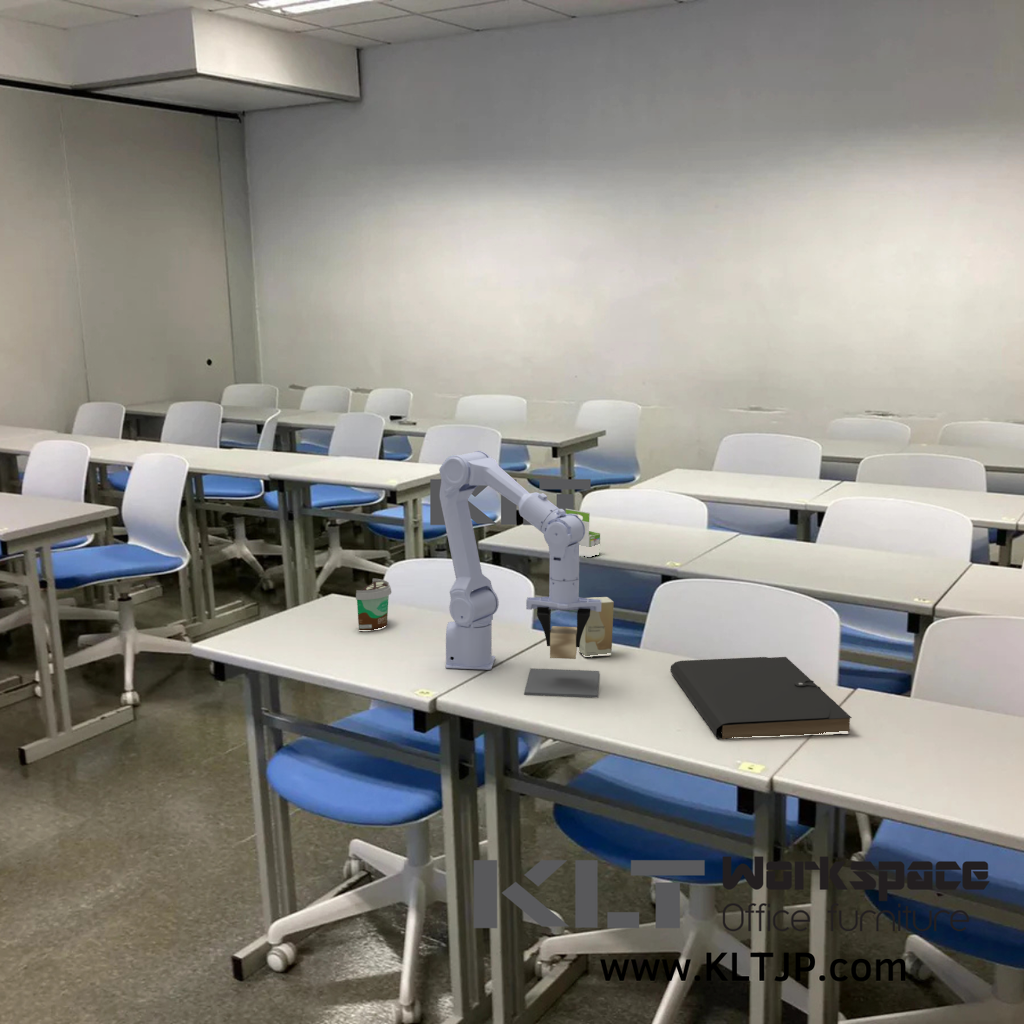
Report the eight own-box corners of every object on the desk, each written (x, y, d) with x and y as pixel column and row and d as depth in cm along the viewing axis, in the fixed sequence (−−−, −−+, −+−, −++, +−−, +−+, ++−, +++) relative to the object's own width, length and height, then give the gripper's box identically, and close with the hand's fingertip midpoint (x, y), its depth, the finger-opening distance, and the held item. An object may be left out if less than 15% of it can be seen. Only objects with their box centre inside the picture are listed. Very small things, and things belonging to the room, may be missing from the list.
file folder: (852, 715, 180) (716, 721, 178) (851, 737, 181) (715, 744, 179) (786, 654, 212) (670, 659, 210) (786, 674, 213) (670, 679, 211)
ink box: (600, 556, 317) (601, 510, 314) (588, 558, 313) (589, 513, 311) (575, 550, 324) (576, 506, 322) (564, 553, 321) (564, 508, 318)
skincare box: (584, 658, 221) (585, 603, 218) (578, 652, 225) (579, 597, 222) (613, 656, 222) (614, 600, 220) (606, 650, 226) (607, 595, 224)
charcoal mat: (524, 694, 199) (524, 692, 199) (530, 670, 213) (530, 668, 213) (597, 697, 198) (597, 695, 198) (599, 673, 212) (599, 670, 212)
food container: (382, 635, 237) (381, 592, 235) (356, 633, 238) (355, 590, 236) (398, 620, 249) (398, 579, 247) (374, 618, 250) (373, 577, 248)
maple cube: (549, 658, 203) (550, 633, 202) (551, 650, 208) (551, 626, 207) (575, 658, 202) (575, 634, 202) (576, 651, 207) (577, 627, 206)
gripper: (525, 581, 198) (524, 650, 201) (601, 583, 197) (600, 652, 199) (528, 573, 205) (527, 639, 208) (602, 575, 204) (600, 641, 206)
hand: (563, 645), depth 204 cm, fingers closed on maple cube, 5 cm apart
